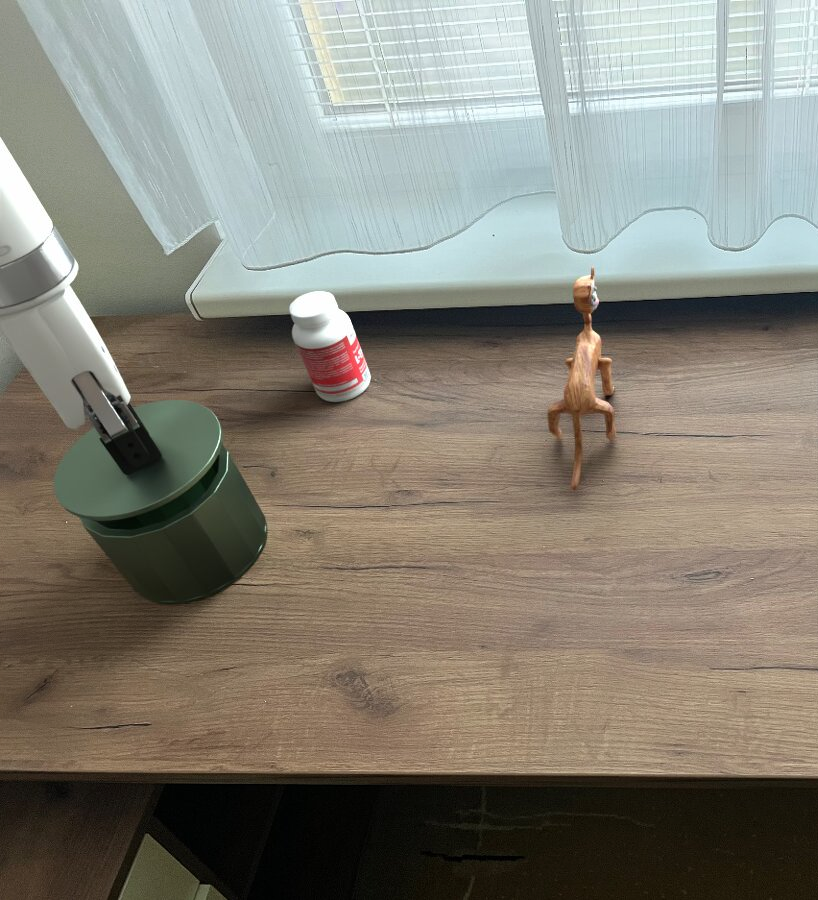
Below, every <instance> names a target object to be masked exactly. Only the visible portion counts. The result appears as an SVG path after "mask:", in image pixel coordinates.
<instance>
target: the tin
mask: <svg viewBox="0 0 818 900" xmlns="http://www.w3.org/2000/svg"><path fill="white" fill-rule="evenodd" d="M78 518H79V520H80V522H81V524H82V526H83V528H84V529H85V530H86V531H87V533H88V534H89V535H90V536H91V538H92V539H93V541H94V542H95V543H96V545H98V547H99V548H100V549H101V550H102V552H103V553H104V554H105V555H106V557H107V558H108V559H109V560H110V562H111V563H112V564H113V566H114V567H115V568H116V569H117V570H118V572H119V573H120V574H121V576H122V577H123V578H124V580H125V581H126V582H127V583H128V584H129V586H130V587H131V588H132V590H133V591H135V592H136V593H137V594H138V595H139V596H141V597H142V598H144V599H146V600H148V601H150V602H152V603H156V604H159V605H165V606H166V605H168V606H178V605H186V604H191V603H196V602H199V601H202V600H205V599H207V598H210V597H212V596H215V595H216V594H219V593H220V592H222V591H224V590H226V589H228V588H229V587H230V586H232V585H234V584H235V583H237V581H239V580H240V579H241V578H242V577H243V576H245V575H246V573H248V571H249V570H251V569H252V567H253V566H254V565H255V563H256V562H257V561H258V560H259V558H260V556H261V554H262V552H263V551H264V549H265V546H266V542H267V539H268V524H267V523H268V522H267V520H266V516H265V513H264V512H263V511H262V509H261V507H260V504H259V503H258V502H257V500H256V498H255V496H254V494H253V493H252V491H251V489H250V488H249V486H248V484H247V482H246V481H245V478H244V476H243V475H242V473H241V471H240V470H239V468H238V466H237V464H236V462H235V461H234V459H233V457H232V456H231V454H230V452H229V451H228V449H227V447H226V446H225V444H224V443H223V442H222V446H221V449H220V452H219V454H218V456H217V458H216V460H215V462H214V463H213V465H212V466H211V468H210V469H209V470H208V471H207V473H206V474H205V475H204V476H203V477H202V478H201V479H200V480H199V481H198V482H197V483H196V484H194V485H193V486H192V487H191V488H190V489H188V490H187V491H186V492H184V493H183V494H181V495H180V496H178V497H177V498H175V499H173V500H172V501H170V502H168V503H166V504H164V505H162V506H160V507H158V508H156V509H154V510H151V511H148V512H146V513H143V514H140V515H137V516H133V517H129V518H124V519H118V520H111V521H96V520H88V519H84V518H80V517H78Z"/></svg>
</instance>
